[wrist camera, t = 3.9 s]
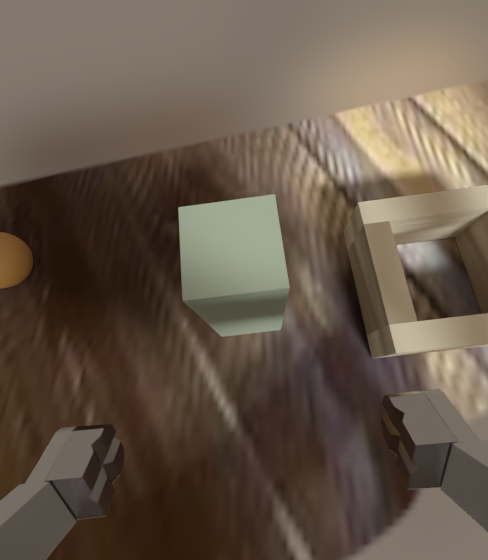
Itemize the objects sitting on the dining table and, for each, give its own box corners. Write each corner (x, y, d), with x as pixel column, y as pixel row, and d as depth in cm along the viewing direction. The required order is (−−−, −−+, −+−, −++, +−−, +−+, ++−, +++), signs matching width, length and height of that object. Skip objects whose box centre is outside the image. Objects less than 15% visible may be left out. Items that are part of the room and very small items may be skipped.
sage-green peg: (221, 336, 21) (182, 300, 12) (217, 280, 22) (178, 207, 13) (280, 329, 21) (289, 287, 11) (272, 273, 22) (274, 194, 13)
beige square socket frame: (372, 358, 20) (396, 353, 16) (343, 232, 23) (358, 202, 19) (517, 342, 19) (577, 333, 16) (469, 215, 22) (510, 181, 18)
